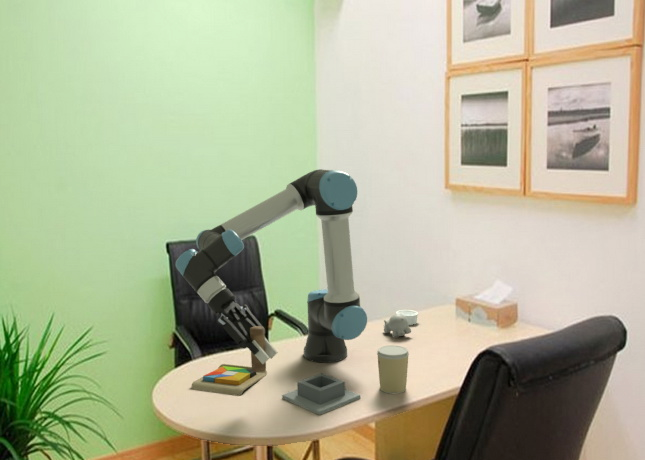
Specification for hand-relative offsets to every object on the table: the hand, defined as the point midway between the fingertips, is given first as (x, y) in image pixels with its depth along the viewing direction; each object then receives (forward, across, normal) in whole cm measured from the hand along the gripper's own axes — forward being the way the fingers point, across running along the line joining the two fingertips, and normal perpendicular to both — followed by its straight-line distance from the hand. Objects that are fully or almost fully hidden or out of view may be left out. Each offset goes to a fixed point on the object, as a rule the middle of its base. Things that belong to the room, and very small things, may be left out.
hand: (270, 358), depth 176 cm
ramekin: (+19, -92, -3) cm, 94 cm away
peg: (0, 0, -5) cm, 5 cm away
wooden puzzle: (-5, -12, -26) cm, 29 cm away
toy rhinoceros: (+20, -75, -2) cm, 77 cm away
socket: (+18, -10, -3) cm, 21 cm away
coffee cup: (+30, -25, +9) cm, 40 cm away
